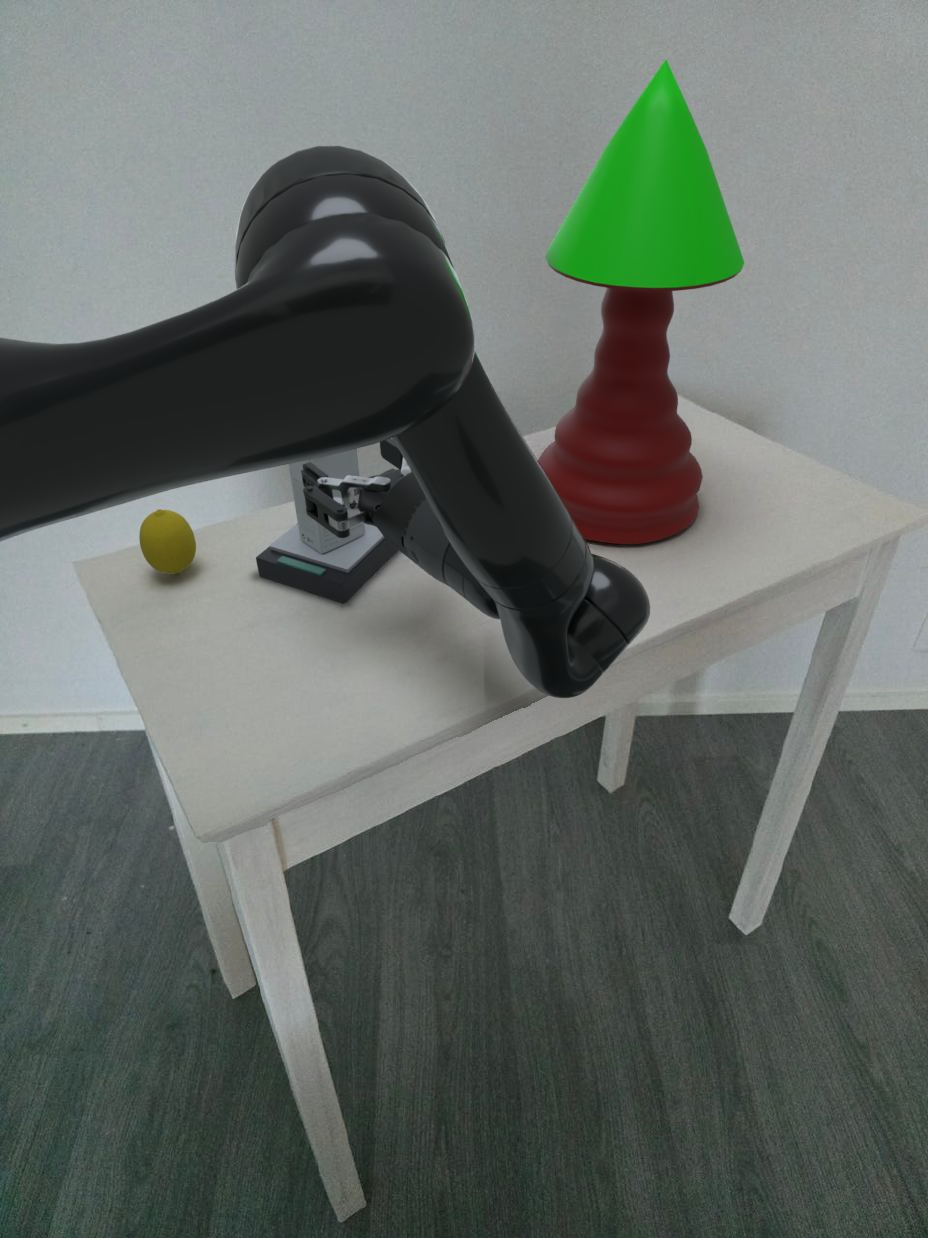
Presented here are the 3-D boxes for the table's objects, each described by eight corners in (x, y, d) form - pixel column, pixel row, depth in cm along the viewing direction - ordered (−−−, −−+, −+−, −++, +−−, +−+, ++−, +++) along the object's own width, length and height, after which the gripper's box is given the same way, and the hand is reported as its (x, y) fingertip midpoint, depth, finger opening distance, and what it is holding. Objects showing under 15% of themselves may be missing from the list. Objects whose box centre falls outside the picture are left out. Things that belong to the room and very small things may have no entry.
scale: (344, 603, 86) (341, 580, 84) (259, 576, 90) (254, 553, 88) (407, 541, 95) (405, 518, 93) (327, 518, 99) (324, 497, 97)
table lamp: (733, 515, 99) (834, 60, 71) (601, 567, 91) (654, 77, 63) (625, 449, 112) (674, 44, 84) (502, 489, 104) (510, 57, 76)
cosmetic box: (322, 556, 88) (307, 452, 80) (297, 539, 90) (281, 437, 83) (368, 533, 91) (358, 431, 84) (343, 518, 94) (331, 417, 86)
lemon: (156, 594, 88) (136, 530, 83) (146, 567, 92) (126, 504, 87) (208, 579, 90) (192, 515, 85) (196, 553, 94) (180, 491, 89)
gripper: (510, 464, 71) (404, 402, 81) (369, 519, 65) (272, 444, 75) (508, 538, 76) (408, 470, 86) (376, 596, 69) (285, 515, 80)
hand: (345, 458), depth 81 cm, fingers open, 8 cm apart
